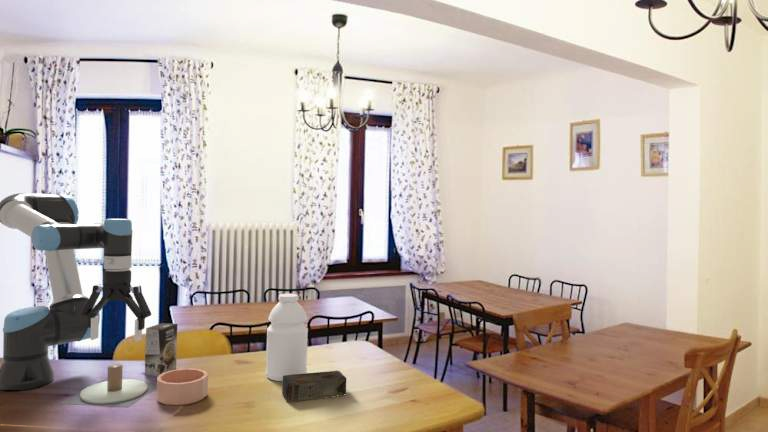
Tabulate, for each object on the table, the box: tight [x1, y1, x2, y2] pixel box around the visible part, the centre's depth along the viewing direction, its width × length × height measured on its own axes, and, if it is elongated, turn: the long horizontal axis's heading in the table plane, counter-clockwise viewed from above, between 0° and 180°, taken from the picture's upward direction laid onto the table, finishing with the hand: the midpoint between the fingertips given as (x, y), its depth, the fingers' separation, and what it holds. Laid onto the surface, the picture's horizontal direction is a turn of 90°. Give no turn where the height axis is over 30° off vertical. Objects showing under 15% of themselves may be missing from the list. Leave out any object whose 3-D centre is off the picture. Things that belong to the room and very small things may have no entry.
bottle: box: [265, 293, 309, 382], centre depth 177 cm, size 14×14×28 cm
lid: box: [79, 363, 147, 404], centre depth 155 cm, size 18×18×8 cm
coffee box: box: [144, 322, 178, 377], centre depth 176 cm, size 9×6×16 cm
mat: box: [60, 379, 157, 408], centre depth 155 cm, size 20×20×1 cm
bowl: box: [156, 367, 209, 406], centre depth 154 cm, size 14×14×6 cm
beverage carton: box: [281, 370, 347, 403], centre depth 160 cm, size 8×19×7 cm, turn 114°
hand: (116, 339), depth 155 cm, fingers open, 13 cm apart
